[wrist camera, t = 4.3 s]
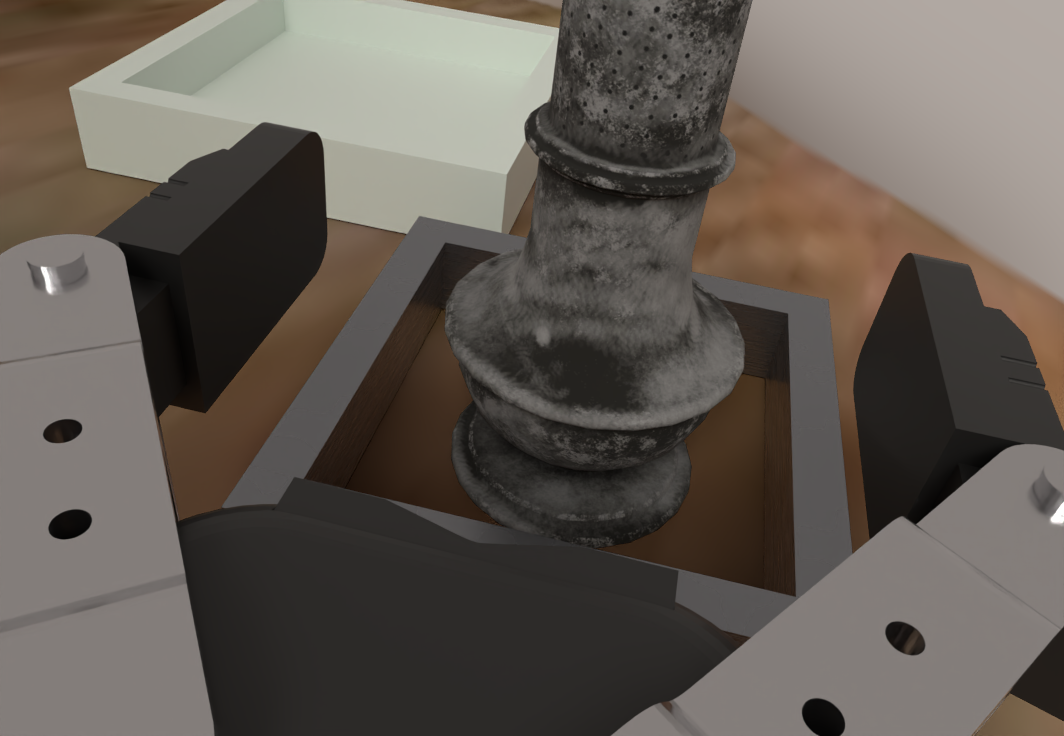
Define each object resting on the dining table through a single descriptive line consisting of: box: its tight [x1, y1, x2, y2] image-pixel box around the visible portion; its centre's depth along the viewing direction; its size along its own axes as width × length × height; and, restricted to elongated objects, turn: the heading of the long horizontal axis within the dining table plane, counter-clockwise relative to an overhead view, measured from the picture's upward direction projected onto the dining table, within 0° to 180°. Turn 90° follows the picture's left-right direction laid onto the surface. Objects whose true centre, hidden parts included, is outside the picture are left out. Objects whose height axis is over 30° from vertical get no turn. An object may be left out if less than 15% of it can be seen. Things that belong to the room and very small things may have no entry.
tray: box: [69, 0, 559, 234], centre depth 30 cm, size 13×13×2 cm
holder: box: [221, 216, 852, 646], centre depth 19 cm, size 10×10×2 cm
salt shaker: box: [445, 0, 752, 548], centre depth 16 cm, size 6×6×12 cm
